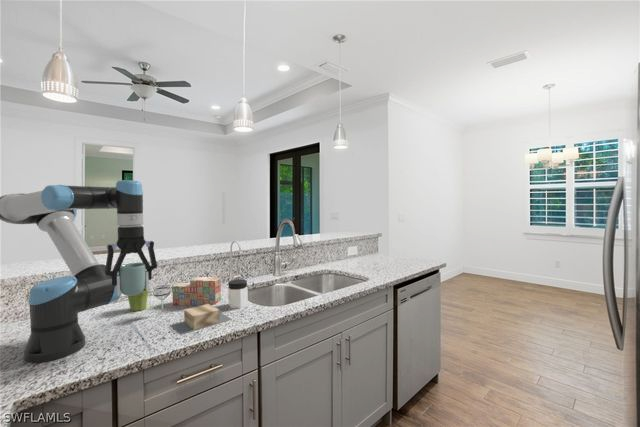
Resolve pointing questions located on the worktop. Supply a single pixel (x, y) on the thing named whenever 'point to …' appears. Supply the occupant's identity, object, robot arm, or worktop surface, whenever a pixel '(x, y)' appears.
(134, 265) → the cup
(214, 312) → the oak riser
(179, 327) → the base board
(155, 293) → the wineglass
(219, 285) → the stack of blocks
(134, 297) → the plant pot
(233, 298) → the jar
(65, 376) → the worktop surface
